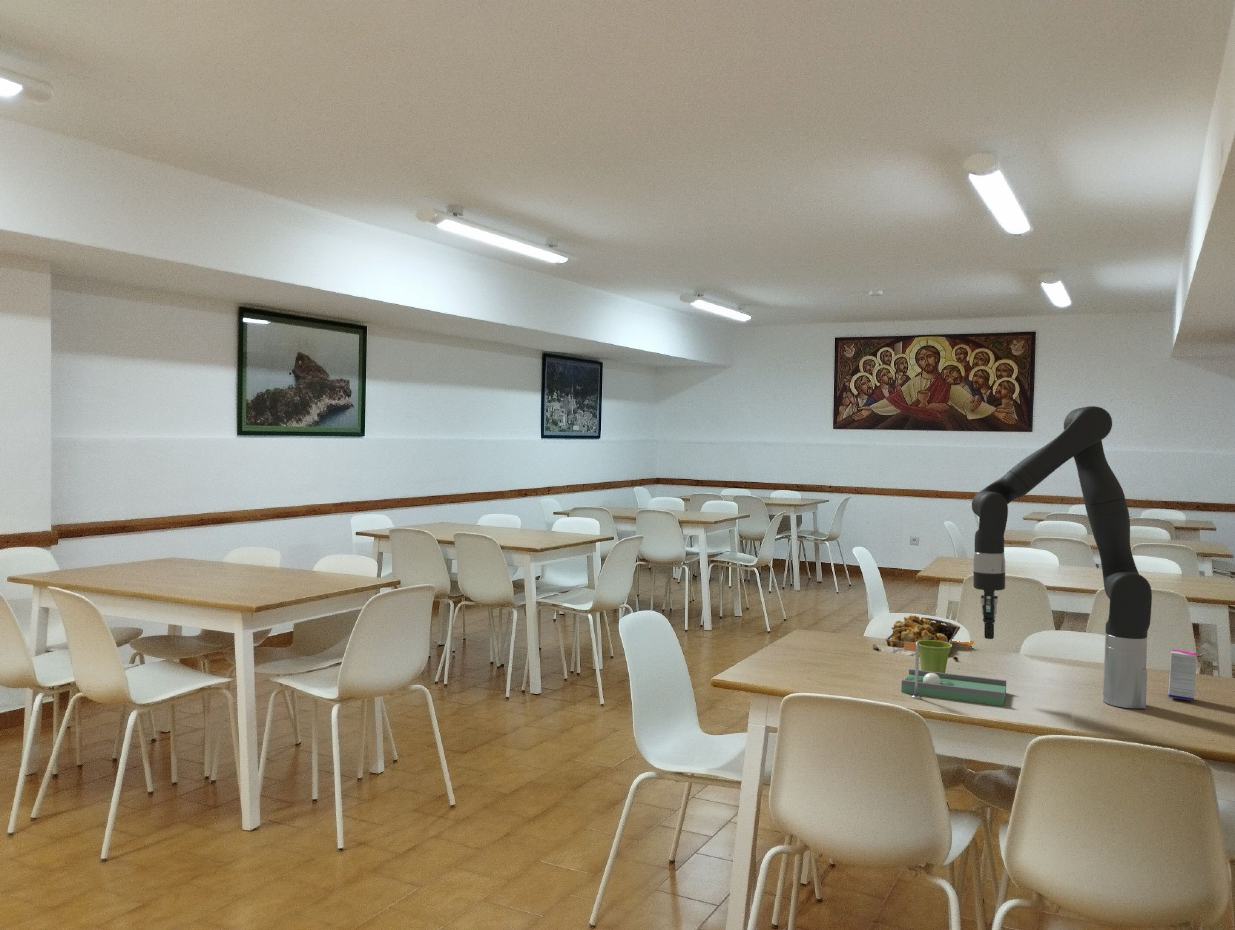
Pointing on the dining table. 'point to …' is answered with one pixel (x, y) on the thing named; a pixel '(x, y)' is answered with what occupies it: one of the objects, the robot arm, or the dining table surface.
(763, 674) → the dining table surface
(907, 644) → the pin
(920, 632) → the food tray
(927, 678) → the ball
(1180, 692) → the supplement box
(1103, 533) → the robot arm
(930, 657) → the plant pot
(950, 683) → the lane
